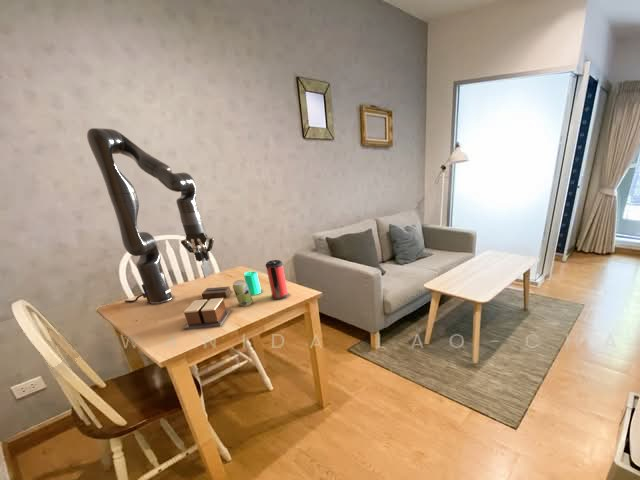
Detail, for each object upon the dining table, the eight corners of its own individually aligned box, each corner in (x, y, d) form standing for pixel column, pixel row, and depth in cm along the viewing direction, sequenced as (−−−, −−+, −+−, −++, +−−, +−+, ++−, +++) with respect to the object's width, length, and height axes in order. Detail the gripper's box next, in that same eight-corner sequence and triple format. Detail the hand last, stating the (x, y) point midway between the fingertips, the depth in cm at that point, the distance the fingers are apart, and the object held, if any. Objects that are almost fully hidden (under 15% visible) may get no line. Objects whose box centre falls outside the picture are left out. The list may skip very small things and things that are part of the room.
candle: (248, 291, 170) (242, 269, 165) (260, 289, 172) (255, 267, 167) (248, 295, 165) (243, 273, 160) (261, 293, 167) (256, 271, 162)
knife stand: (203, 299, 162) (201, 294, 161) (208, 293, 169) (207, 288, 168) (226, 297, 164) (225, 292, 162) (231, 291, 170) (229, 286, 169)
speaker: (290, 297, 163) (284, 262, 155) (274, 301, 159) (267, 265, 151) (285, 292, 168) (279, 258, 161) (270, 295, 164) (263, 261, 157)
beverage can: (255, 300, 159) (249, 277, 154) (249, 307, 153) (243, 283, 148) (242, 301, 159) (236, 278, 154) (235, 308, 153) (229, 284, 148)
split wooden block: (184, 329, 136) (179, 313, 132) (197, 313, 148) (193, 299, 145) (220, 326, 138) (216, 310, 134) (230, 311, 150) (226, 296, 147)
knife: (208, 272, 156) (201, 247, 151) (214, 271, 157) (206, 247, 152) (201, 278, 148) (193, 253, 143) (207, 278, 149) (199, 252, 143)
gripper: (212, 219, 146) (222, 256, 154) (178, 221, 144) (190, 259, 152) (206, 223, 140) (217, 261, 147) (170, 225, 138) (183, 264, 145)
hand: (203, 260), depth 149 cm, fingers closed on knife, 2 cm apart
